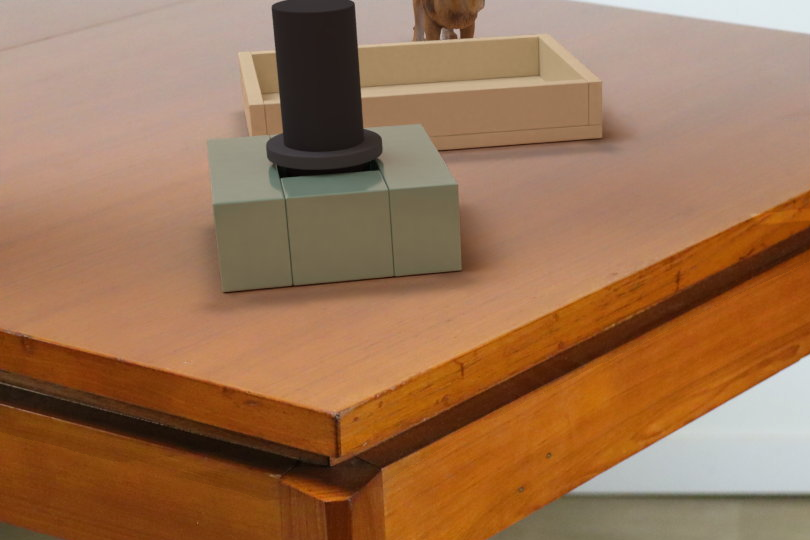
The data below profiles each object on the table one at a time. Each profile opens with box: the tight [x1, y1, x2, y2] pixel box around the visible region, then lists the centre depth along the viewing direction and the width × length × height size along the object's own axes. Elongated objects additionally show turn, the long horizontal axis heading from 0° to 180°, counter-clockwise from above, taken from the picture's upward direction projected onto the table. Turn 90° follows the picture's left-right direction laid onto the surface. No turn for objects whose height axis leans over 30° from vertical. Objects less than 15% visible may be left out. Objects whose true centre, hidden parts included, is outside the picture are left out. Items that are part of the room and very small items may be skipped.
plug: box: [266, 0, 383, 178], centre depth 68 cm, size 5×5×11 cm
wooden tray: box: [237, 33, 603, 151], centre depth 90 cm, size 20×14×3 cm
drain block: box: [205, 124, 463, 293], centre depth 70 cm, size 10×10×4 cm
